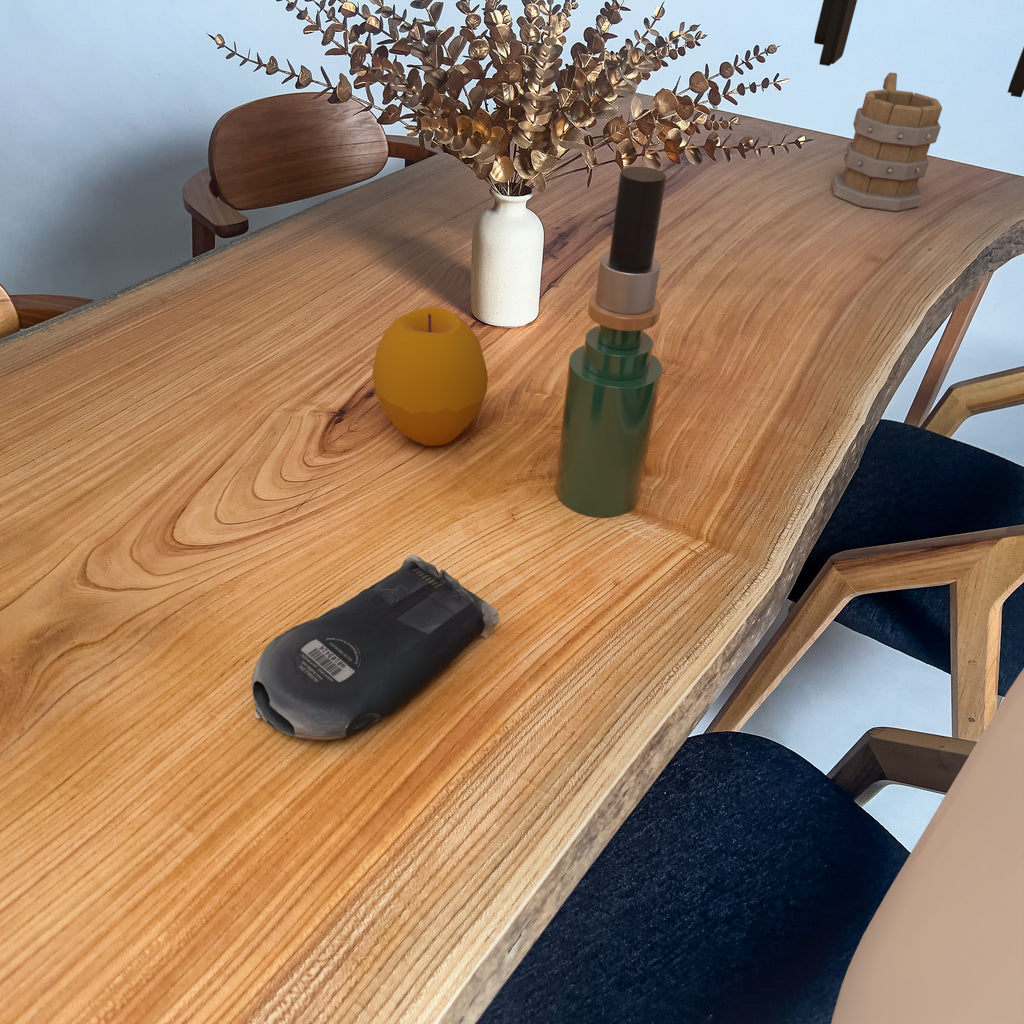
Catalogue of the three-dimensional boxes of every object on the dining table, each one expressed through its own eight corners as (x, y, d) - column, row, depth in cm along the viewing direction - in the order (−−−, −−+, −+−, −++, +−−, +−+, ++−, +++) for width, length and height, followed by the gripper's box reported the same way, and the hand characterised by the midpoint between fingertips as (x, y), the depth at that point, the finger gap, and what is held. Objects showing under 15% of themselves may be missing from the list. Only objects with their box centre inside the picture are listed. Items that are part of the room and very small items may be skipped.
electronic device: (396, 590, 67) (221, 683, 56) (410, 533, 63) (226, 621, 53) (487, 668, 63) (317, 784, 52) (507, 612, 59) (330, 724, 49)
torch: (666, 307, 64) (688, 179, 59) (619, 319, 62) (638, 188, 57) (629, 284, 67) (647, 160, 61) (583, 295, 65) (598, 168, 59)
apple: (387, 399, 84) (383, 281, 77) (490, 409, 84) (496, 291, 77) (365, 459, 77) (358, 334, 69) (478, 470, 76) (484, 346, 69)
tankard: (922, 215, 133) (960, 107, 123) (834, 204, 134) (864, 96, 125) (906, 173, 148) (938, 74, 139) (827, 164, 150) (853, 65, 140)
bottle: (656, 501, 75) (694, 311, 64) (588, 527, 71) (616, 332, 61) (604, 458, 79) (632, 274, 68) (538, 481, 76) (556, 292, 65)
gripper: (833, -379, 38) (745, 62, 49) (1314, -376, 33) (1096, 121, 43) (864, -353, 44) (778, 40, 54) (1282, -347, 38) (1095, 89, 49)
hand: (920, 75), depth 49 cm, fingers open, 9 cm apart
